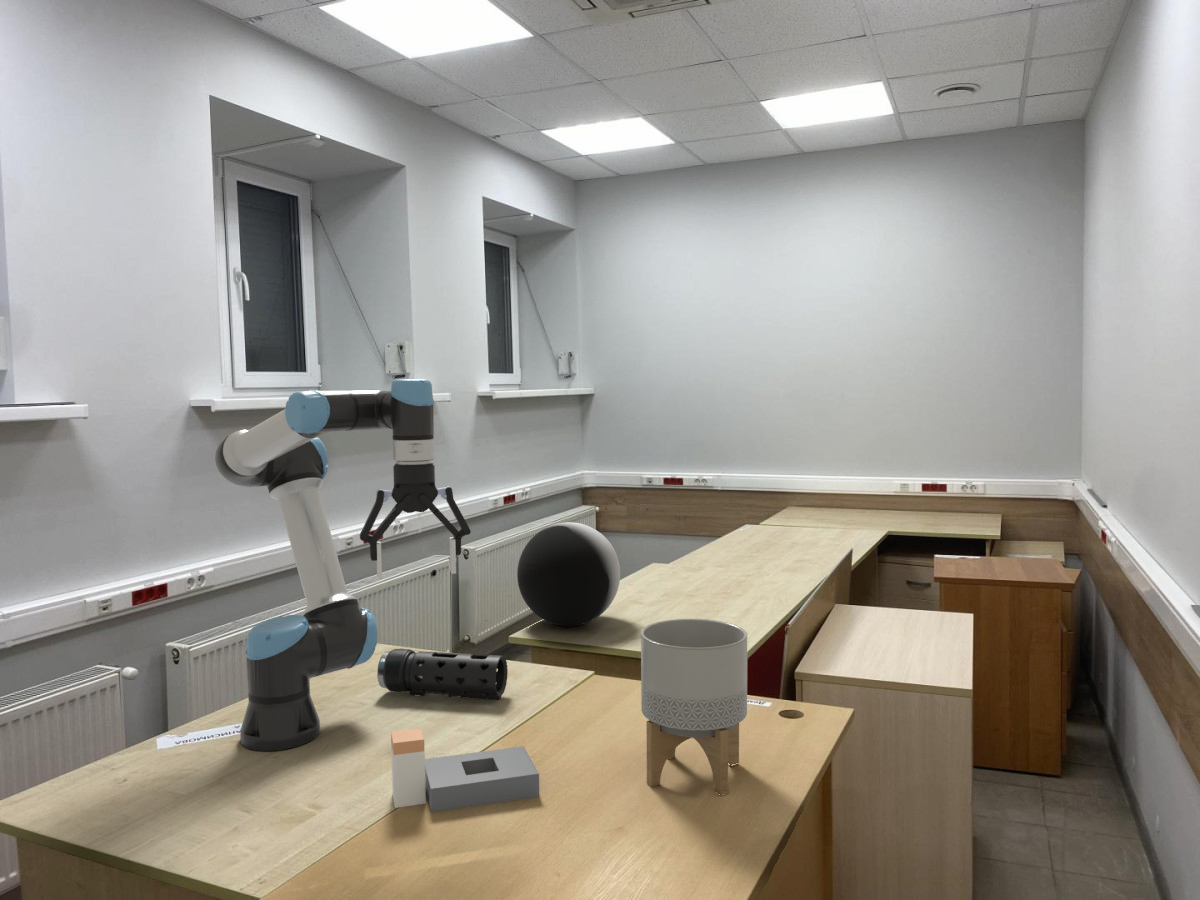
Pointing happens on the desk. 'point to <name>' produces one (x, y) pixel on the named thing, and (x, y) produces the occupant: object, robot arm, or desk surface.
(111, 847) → the desk surface
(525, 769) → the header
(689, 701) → the planter
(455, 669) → the muzzle brake
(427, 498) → the robot arm
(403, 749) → the plug
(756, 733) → the desk surface
